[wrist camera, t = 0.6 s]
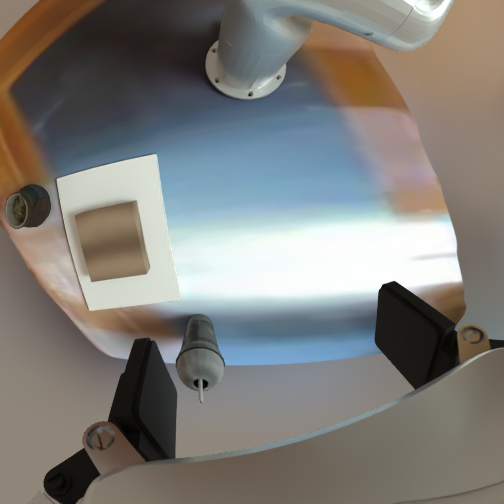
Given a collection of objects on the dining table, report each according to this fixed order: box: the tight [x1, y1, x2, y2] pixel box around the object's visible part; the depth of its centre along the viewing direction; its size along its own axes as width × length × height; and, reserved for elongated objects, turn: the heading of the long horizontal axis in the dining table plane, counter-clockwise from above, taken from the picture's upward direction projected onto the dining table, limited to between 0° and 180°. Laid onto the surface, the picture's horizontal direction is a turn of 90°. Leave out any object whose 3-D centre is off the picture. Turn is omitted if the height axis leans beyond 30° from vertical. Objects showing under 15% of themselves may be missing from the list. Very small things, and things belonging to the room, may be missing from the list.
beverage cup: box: [176, 314, 225, 404], centre depth 39 cm, size 7×7×20 cm
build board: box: [57, 154, 182, 311], centre depth 41 cm, size 24×18×1 cm
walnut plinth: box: [75, 200, 150, 282], centre depth 39 cm, size 11×10×3 cm
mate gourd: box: [5, 184, 51, 229], centre depth 32 cm, size 7×8×10 cm
